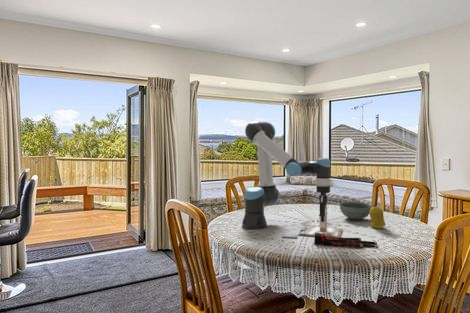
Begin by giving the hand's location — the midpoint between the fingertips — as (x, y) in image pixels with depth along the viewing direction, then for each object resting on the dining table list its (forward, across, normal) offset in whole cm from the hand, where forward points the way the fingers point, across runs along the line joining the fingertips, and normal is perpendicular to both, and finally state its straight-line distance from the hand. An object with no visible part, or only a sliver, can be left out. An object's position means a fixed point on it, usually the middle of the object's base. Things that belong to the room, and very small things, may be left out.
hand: (323, 226), depth 194 cm
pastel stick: (+2, 0, 0) cm, 2 cm away
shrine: (+4, +20, -29) cm, 35 cm away
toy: (+4, -20, -13) cm, 25 cm away
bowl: (+4, +41, -16) cm, 44 cm away
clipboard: (+4, -1, +1) cm, 4 cm away
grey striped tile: (+4, -15, +16) cm, 22 cm away
